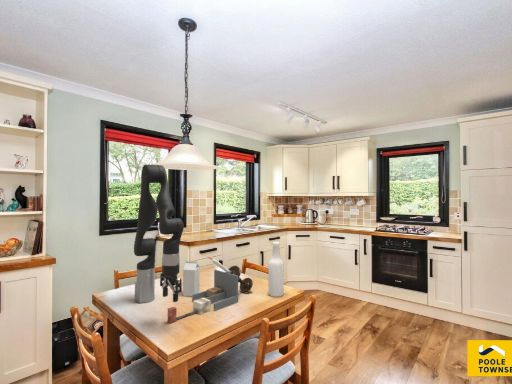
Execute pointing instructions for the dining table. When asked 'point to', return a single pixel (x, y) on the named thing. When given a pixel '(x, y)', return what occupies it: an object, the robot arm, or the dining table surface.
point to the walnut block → (213, 291)
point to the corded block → (198, 307)
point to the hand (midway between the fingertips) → (170, 299)
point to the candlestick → (245, 283)
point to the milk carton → (191, 278)
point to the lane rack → (228, 290)
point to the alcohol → (276, 273)
